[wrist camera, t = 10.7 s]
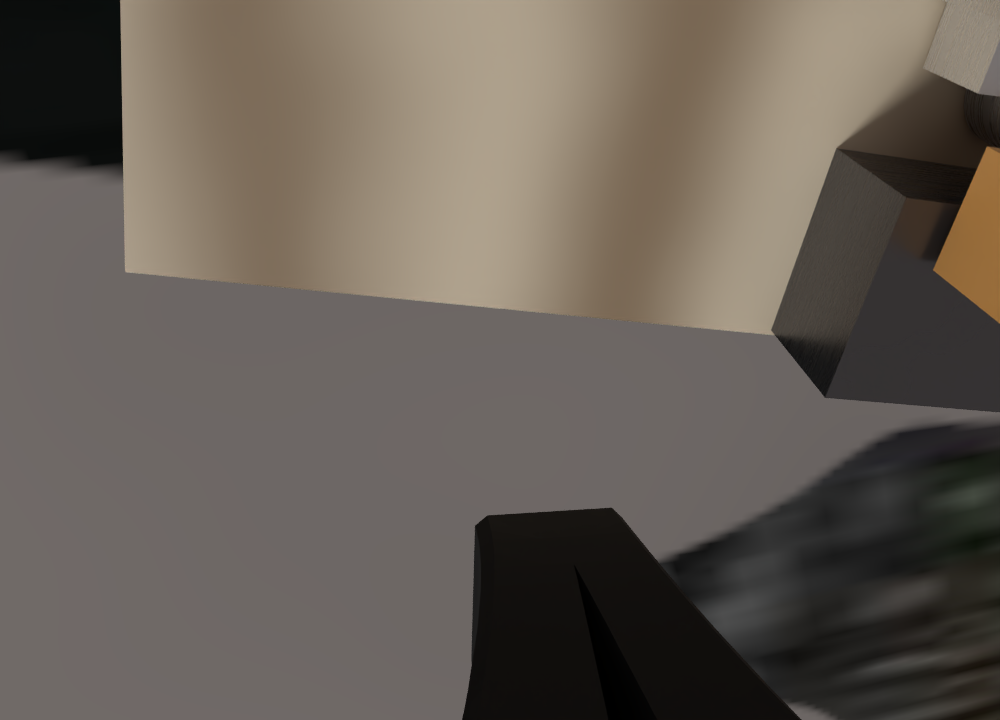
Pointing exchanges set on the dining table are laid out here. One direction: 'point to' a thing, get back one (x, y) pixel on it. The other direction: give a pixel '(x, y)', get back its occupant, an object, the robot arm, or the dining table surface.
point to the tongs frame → (888, 290)
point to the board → (516, 144)
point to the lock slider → (977, 239)
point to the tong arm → (971, 61)
